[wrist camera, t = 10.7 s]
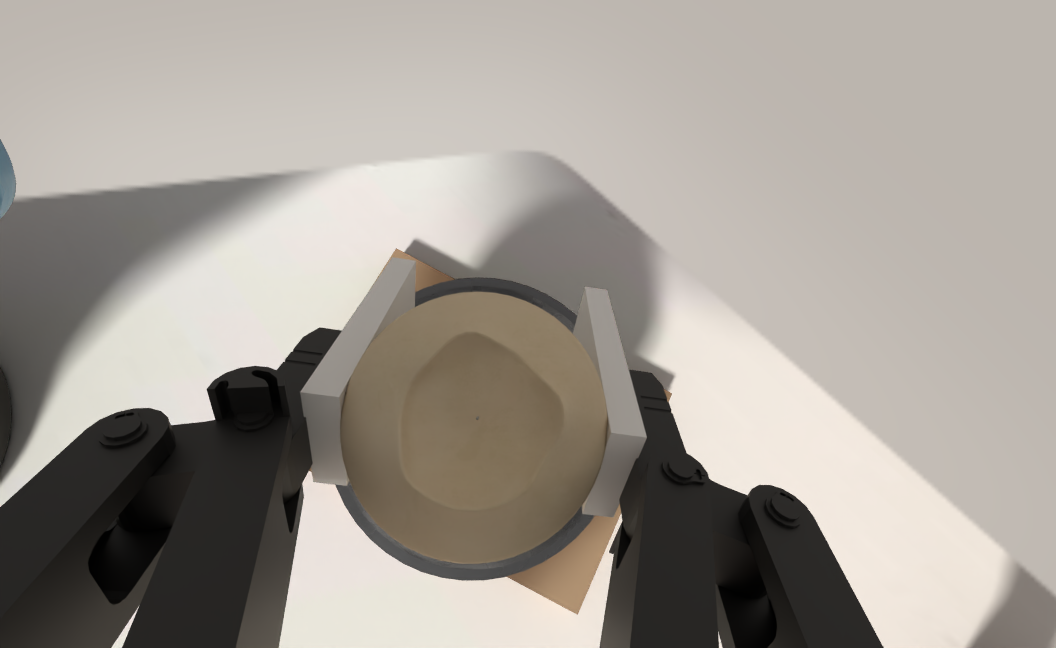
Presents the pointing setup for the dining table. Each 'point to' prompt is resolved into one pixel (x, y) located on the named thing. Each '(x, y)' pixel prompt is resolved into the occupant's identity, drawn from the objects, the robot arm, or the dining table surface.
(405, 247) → the dining table surface
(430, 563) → the round metal tin
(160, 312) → the dining table surface
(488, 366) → the candle
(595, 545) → the wooden board
